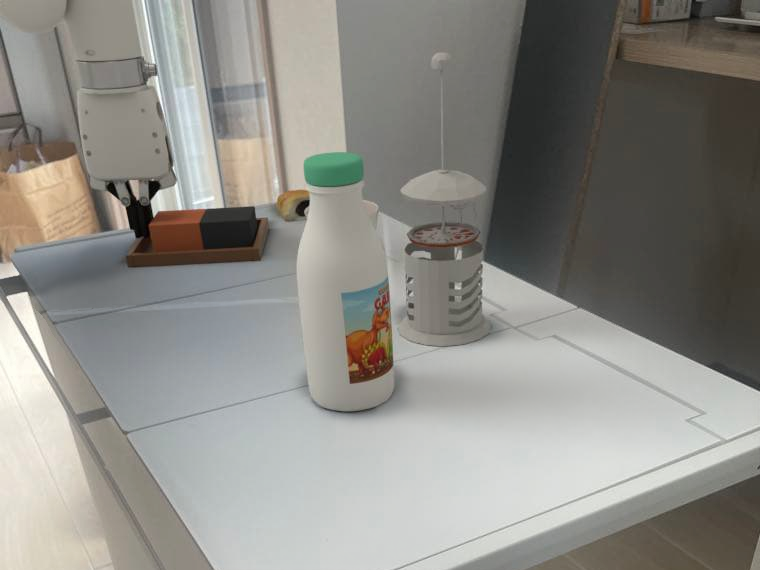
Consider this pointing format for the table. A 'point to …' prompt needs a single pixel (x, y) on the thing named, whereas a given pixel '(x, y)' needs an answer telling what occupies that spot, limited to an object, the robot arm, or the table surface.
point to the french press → (444, 257)
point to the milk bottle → (343, 290)
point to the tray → (196, 252)
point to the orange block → (177, 230)
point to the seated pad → (228, 227)
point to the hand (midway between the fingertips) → (144, 234)
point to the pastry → (293, 204)
